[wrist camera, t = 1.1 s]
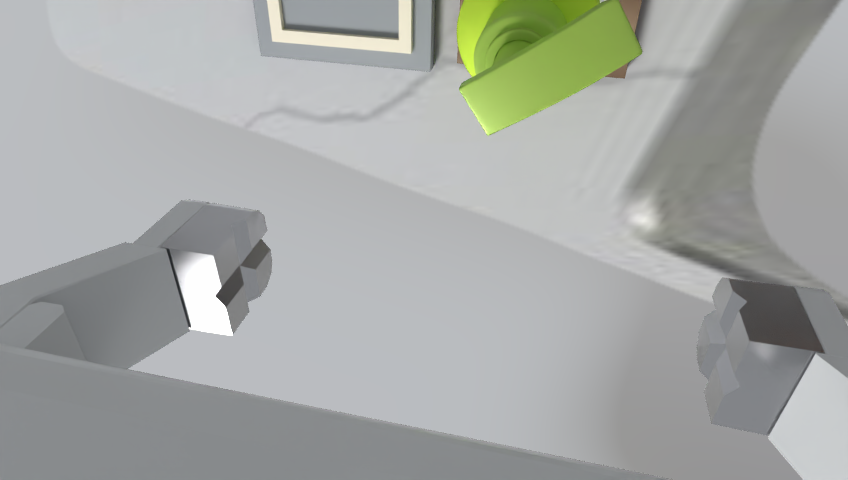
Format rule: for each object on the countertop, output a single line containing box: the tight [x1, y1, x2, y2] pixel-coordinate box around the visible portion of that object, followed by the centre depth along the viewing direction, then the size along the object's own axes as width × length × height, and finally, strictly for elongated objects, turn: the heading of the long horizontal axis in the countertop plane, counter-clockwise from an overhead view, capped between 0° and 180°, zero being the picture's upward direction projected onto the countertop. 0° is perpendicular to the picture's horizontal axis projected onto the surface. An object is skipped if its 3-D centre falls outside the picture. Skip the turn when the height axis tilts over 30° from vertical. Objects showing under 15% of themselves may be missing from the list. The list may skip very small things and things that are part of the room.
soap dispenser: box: [457, 0, 642, 136], centre depth 26 cm, size 6×7×20 cm
